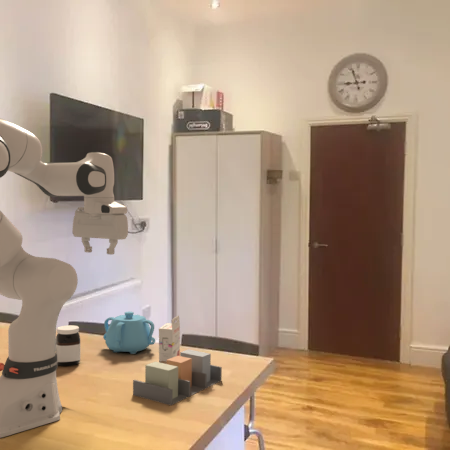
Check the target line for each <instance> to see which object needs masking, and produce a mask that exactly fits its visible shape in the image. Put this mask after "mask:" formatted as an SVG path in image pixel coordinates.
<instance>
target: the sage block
mask: <svg viewBox="0 0 450 450" xmlns="http://www.w3.org/2000/svg"><path fill="white" fill-rule="evenodd" d="M144 374H145V375H144V377H145V379H144V380H145V381H144V382H146V383H150V384H154V385H158V386H162V387H166V388H170V389H173V397H172V399H173V398H175V397H178V367H177V366H173V365H168V364H167V363H163V362H159V361H153V362H150V363H148V364H145V373H144Z"/></svg>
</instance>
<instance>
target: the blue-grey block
mask: <svg viewBox="0 0 450 450" xmlns="http://www.w3.org/2000/svg"><path fill="white" fill-rule="evenodd" d="M179 356H182V357H187V358H192V371H196V372H201V373H205V374H207V382H209V381H210V366H211V365H212V364H211V363H212V362H211V358H212V355H211V353H208V352H204V351H200V350H194V349H189V348H188V349H185V350H183V351H180V355H179Z"/></svg>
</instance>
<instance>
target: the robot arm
mask: <svg viewBox="0 0 450 450" xmlns="http://www.w3.org/2000/svg"><path fill="white" fill-rule="evenodd" d="M42 145H43V144H42V143H41V140H40V139H39V138H38V137H37V136H36V135H35V134H34V133H32V132H31V131H29V130H27V129H25V128H23V127H22V126H20V125H18V124H15V123H13V122H11V121H9V120H6V119H3V118H1V117H0V179H1V178H2V177H4V176H5V175H6V174H7V173H8V172H12V173H14V174H16V175H18V176H19V177H21V178H24V179H25V180H28V181H29V182H30V183H33V184H35V185H36V186H37V188H39V189H40V190H41V192H42V193H44V194H45V195H46V196H48V197H50V198H57V197H58V198H59V197H83V207H82V206H79V207H78V208H77V209H75V211H74V216H73V221H72V222H73V223H72V235H73V237H75V238H81V242H82V245H83V246H84V253H87V254H88V253H92V252H93V246H91V244H90V240H91V239H100V240H101V239H104V240H105V239H106V240H108V243H109V247H108V248H106V254H107V255H110V256H111V255H114V254H115V249H116V246H117V244H118V240H126V239H127V237H128V236H129V224H128V223H129V222H128V221H129V220H128V217H127V215H126V214H127V213H128V207H127V206H125V205H123V204H121V203H119V202H117V201H115V195H114V185H115V168H114V162H113V158H112V156H110V155H109V154H107V153H104V152H99V151H91V152H88V153H87V154H86V155H85V157H84V158H83V159H81V160H78V161H76V162H55V161H54V162H51V161H49V162H43V161H42V157H43V146H42ZM22 244H23V235H22V232H20V230H19V229H18V228H17V227H16V226H15V225H14V224H13V222H11V221H10V219H9V218H8V217H7V216H6V215H5V214H4V213H3V212H2V211H1V210H0V295H1V296H2V297H5V298H8V299H13V300H21V304H22V305H21V309H20V313H19V315H18V317H17V318H16V319H14V320H13V321H12V322H11V323H10V324H9V327H8V330H7V331H8V334H7V335H8V339H7V340H8V341H7V343H8V351H7V352H8V356H7V357H6V361H5V363H3V362H0V372H1V375H0V439H1V438H4V437H8V436H11V435H15V434H17V433H20V432H21V433H22V432H25V431H27V430H31V429H34V428H38V427H41V426H44V425H47V424H49V423H53V422H58V421H59V420H60V419H61V413H62V411H63V406H62V402H61V399H60V393H59V388H58V380H57V370H58V365H57V354H56V352H55V350H56V336H57V324H58V319H59V317H60V316H59V315H60V313H61V311H62V308H63V307H64V305H65V303H66V302H68V301H69V300H70V299H71V298H72V297H73V296H74V294H75V293H76V290H77V287H78V282H79V281H78V273H77V271H76V269H75V268H74V267H73V266H72V265H71V264H69V263H68V262H65V261H64V260H63V261H62V260H60V259H58V258H53V257H42V256H41V257H40V256H34V255H32V254H30V253H28V252H27V251H25V250H24V247H22Z"/></svg>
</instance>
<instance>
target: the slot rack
mask: <svg viewBox="0 0 450 450" xmlns="http://www.w3.org/2000/svg"><path fill="white" fill-rule="evenodd" d="M222 374H223V373H222V366H217V365H214V364H211V366H210V381H209V382H207V374H205V373H201V372H196V371H192V387H190V381H188V380H183V379H179V378H178V397H175V398H173V399H172V397H173V389H170V388H166V387H162V386H158V385H154V384H150V383H146V382H145V381H141V380H138V379H132V396H136V397H139V398H142V399H145V400H150V401H152V402H158V403H160V404H164V405H168V406H173V405H175V404H177V403H179V402H181V401H183V400H185V399H187V398H190V397H191V396H194V395H195V394H197V393H199V392H201V391H203V390H205V389H207V388H209V387H212V386H214V385H216V384H218V383H220V382H221V381H222V378H223V377H222Z"/></svg>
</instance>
